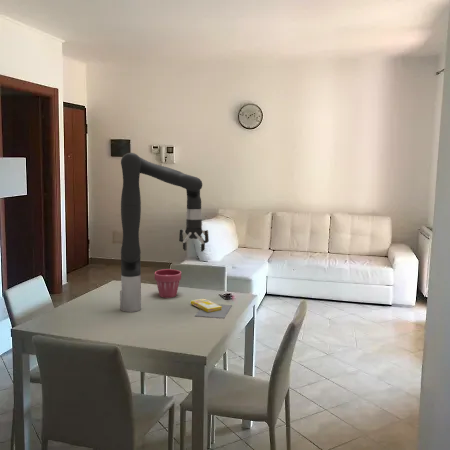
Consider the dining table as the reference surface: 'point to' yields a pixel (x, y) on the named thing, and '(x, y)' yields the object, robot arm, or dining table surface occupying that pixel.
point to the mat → (215, 312)
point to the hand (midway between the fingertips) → (193, 250)
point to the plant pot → (167, 282)
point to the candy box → (206, 305)
